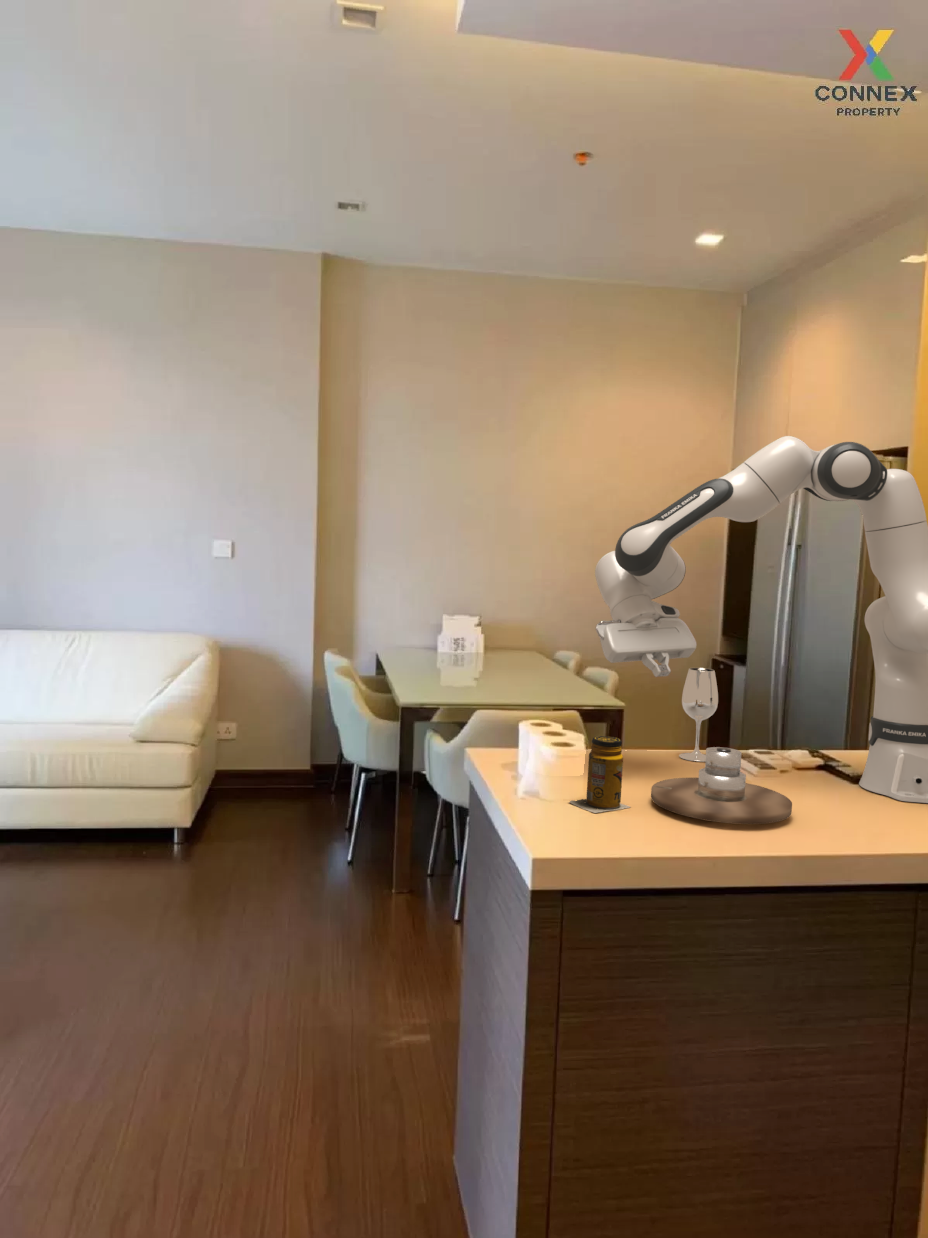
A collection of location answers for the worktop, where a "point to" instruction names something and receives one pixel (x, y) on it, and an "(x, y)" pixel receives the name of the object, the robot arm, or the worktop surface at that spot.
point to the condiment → (604, 776)
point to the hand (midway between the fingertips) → (663, 674)
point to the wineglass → (699, 703)
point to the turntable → (721, 803)
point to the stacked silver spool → (722, 775)
